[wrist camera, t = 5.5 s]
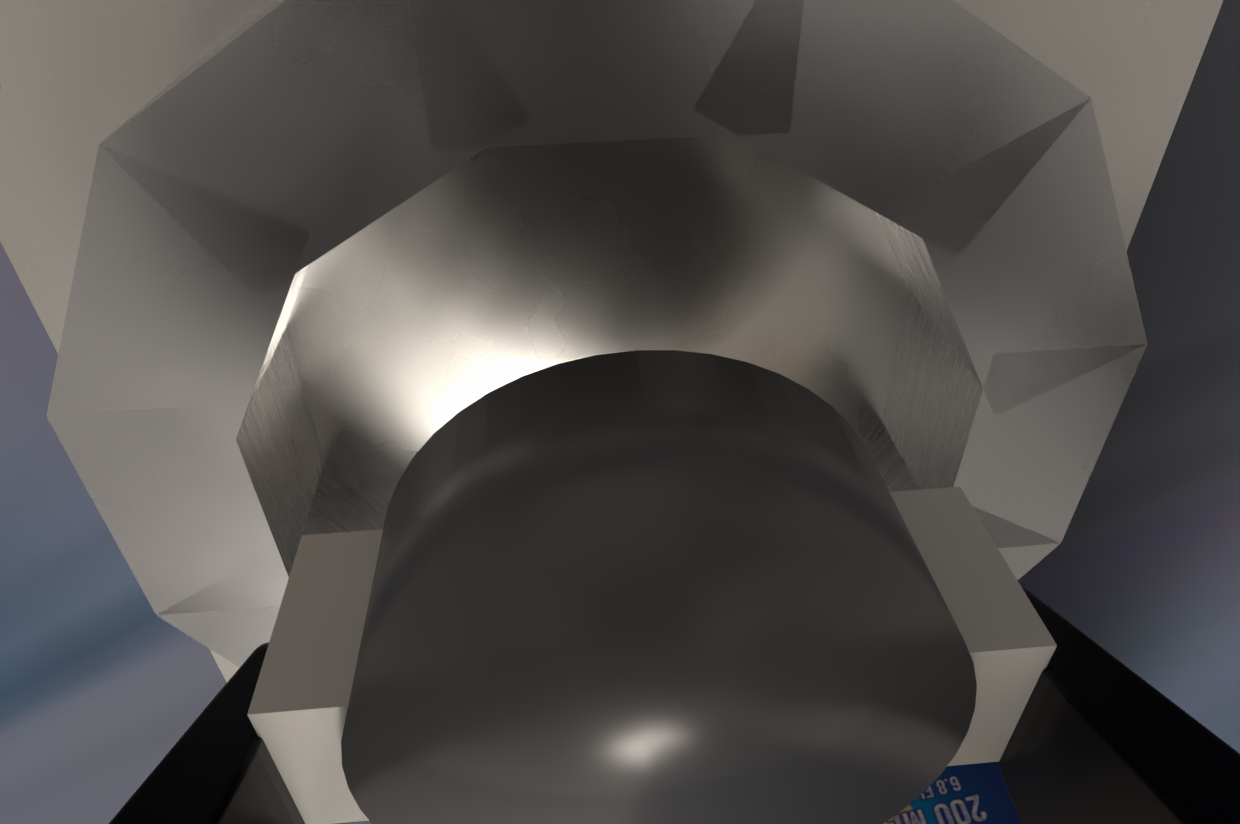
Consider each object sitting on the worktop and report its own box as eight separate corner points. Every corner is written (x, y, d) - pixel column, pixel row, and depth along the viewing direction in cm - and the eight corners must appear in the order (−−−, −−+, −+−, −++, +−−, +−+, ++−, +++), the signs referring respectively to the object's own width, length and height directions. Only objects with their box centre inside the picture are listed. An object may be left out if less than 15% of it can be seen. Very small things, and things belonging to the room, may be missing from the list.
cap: (891, 681, 12) (965, 867, 10) (376, 726, 12) (343, 928, 10) (997, 327, 8) (1148, 504, 6) (255, 374, 8) (158, 579, 6)
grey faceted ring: (962, 626, 19) (1029, 756, 16) (248, 687, 18) (203, 834, 16) (1293, -285, 9) (1581, -310, 7) (-211, -255, 8) (-532, -270, 6)
